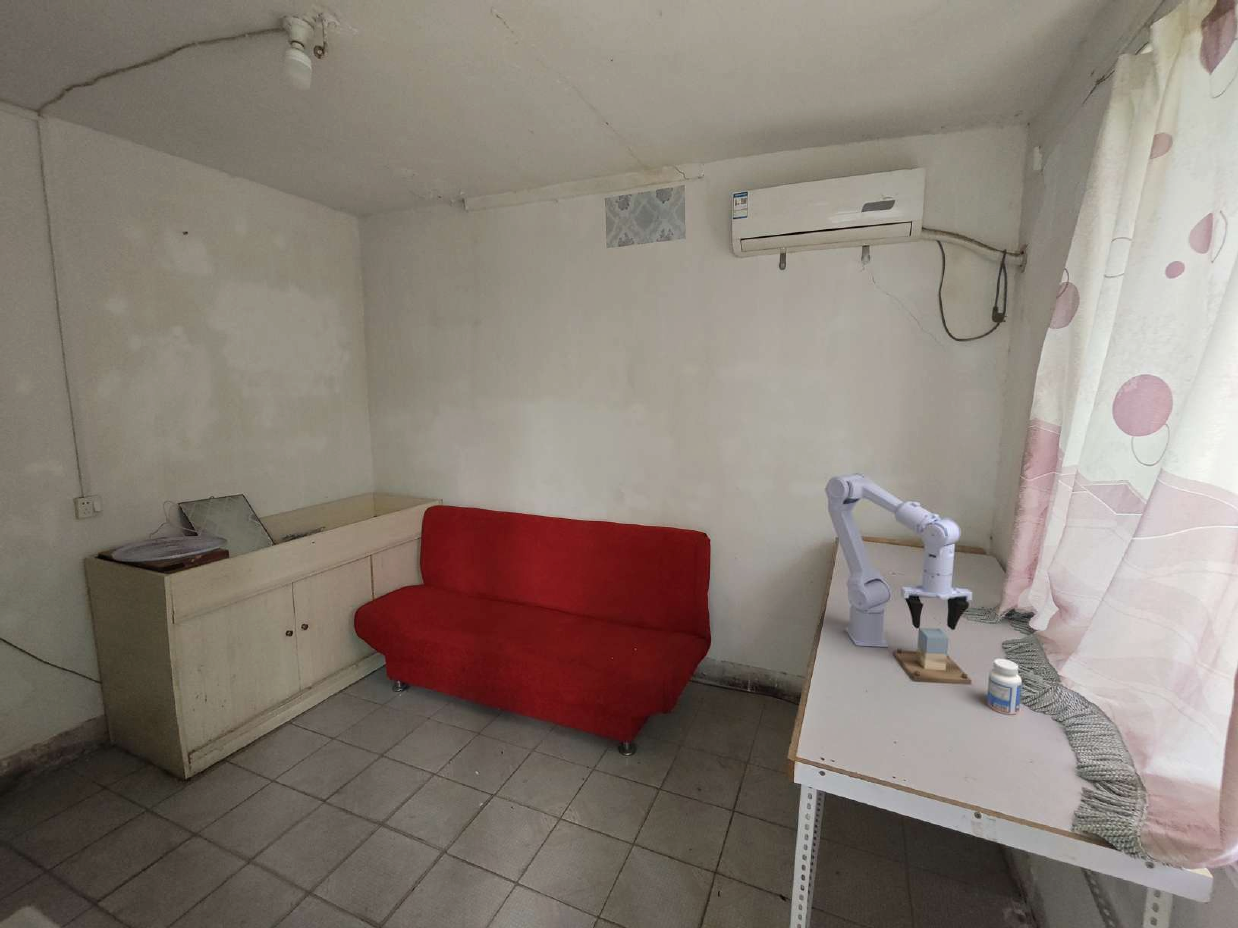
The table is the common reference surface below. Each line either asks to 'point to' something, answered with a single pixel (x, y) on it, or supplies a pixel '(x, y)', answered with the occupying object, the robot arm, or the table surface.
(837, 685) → the table surface
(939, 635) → the slate block
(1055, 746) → the table surface
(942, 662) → the birch block
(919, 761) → the table surface
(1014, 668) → the pill bottle
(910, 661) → the base plate
